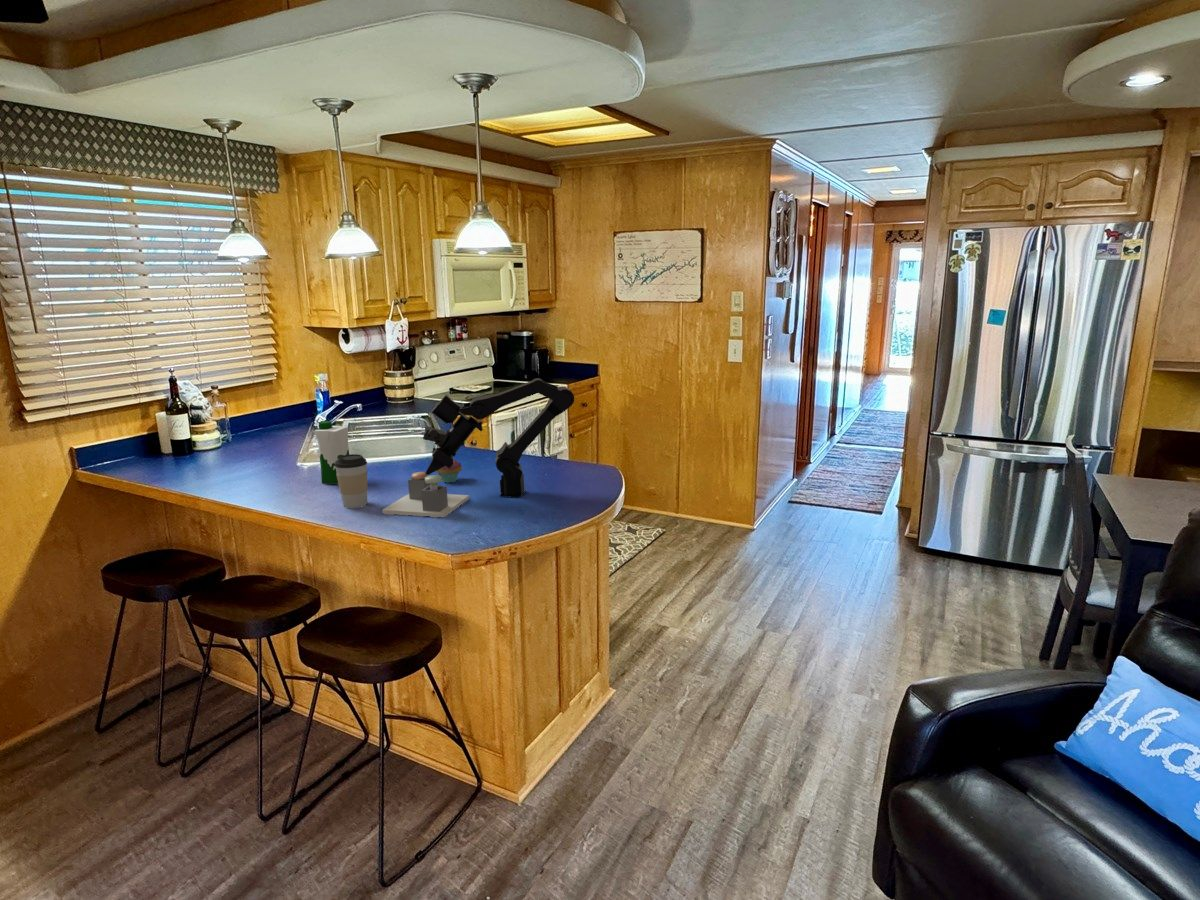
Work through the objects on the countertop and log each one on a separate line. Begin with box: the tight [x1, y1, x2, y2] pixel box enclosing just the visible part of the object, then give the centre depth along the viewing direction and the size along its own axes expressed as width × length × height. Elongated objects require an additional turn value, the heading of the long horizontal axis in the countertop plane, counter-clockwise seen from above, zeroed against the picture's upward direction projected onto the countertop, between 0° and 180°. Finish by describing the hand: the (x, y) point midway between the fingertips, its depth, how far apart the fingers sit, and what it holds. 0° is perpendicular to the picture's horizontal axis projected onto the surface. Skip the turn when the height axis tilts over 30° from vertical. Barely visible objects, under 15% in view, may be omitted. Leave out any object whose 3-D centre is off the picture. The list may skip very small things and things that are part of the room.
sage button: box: [425, 474, 442, 491], centre depth 195 cm, size 5×5×7 cm
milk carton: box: [313, 420, 350, 485], centre depth 227 cm, size 9×9×20 cm
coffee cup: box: [335, 453, 369, 509], centre depth 203 cm, size 9×9×15 cm
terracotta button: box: [411, 471, 429, 480], centre depth 206 cm, size 5×5×7 cm
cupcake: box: [435, 459, 463, 484], centre depth 226 cm, size 9×8×12 cm
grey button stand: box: [382, 477, 470, 518], centre depth 201 cm, size 19×17×7 cm
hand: (426, 473), depth 206 cm, fingers closed, pressing on terracotta button
